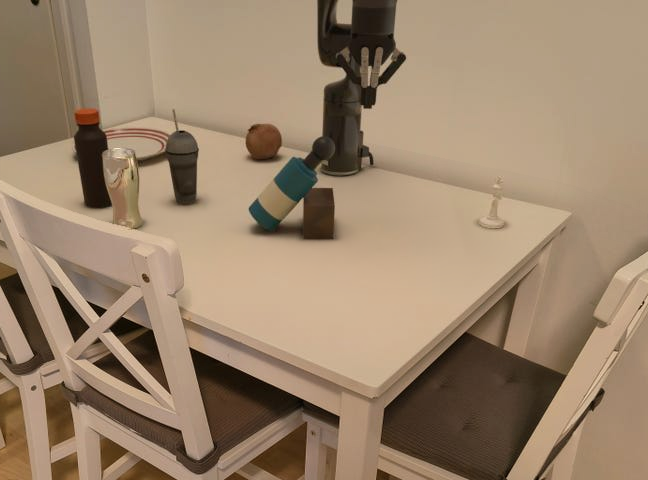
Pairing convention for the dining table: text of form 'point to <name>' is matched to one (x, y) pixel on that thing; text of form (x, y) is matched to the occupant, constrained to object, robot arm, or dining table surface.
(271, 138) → the onion
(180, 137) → the beverage cup
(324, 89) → the robot arm
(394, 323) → the dining table surface
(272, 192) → the striped banded cylinder
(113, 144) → the dinner plate
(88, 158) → the vinegar
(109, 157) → the beer glass
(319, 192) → the walnut block
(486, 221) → the chess piece
